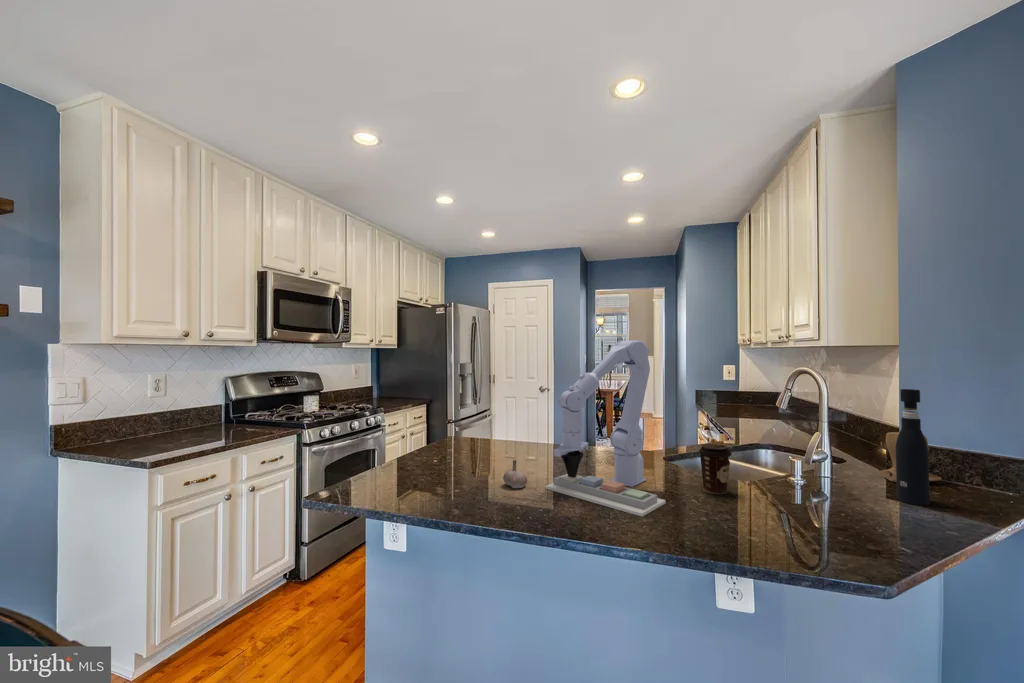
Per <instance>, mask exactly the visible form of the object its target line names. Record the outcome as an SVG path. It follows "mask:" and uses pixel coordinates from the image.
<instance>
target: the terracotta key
mask: <svg viewBox="0 0 1024 683" xmlns="http://www.w3.org/2000/svg"><path fill="white" fill-rule="evenodd" d="M609 480H610V479H609ZM609 480H608V481H607V480H606V481H604V482H605V483H602V484H601V490H605V491H609V492H613V493H616V494H618V493H621V492H623V491H625V487H626V485H625V484H624V483H619V482H615V481H611V480H610V481H609Z"/></svg>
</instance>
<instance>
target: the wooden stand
mask: <svg viewBox="0 0 1024 683" xmlns="http://www.w3.org/2000/svg"><path fill="white" fill-rule="evenodd" d="M899 432H900V431H897V432H891V431H890V432H887V433H886V435H885V446H886V449H887V450H888V452H889V456H890V459H891V462H892V467H890V468H888V469H884V470H883V469H882V470H880V471H879V474H880V475H881V476H882V477H884V478H885V479H887V480H888V481H890V482H894V483H896V441H897V437H898V435H899ZM924 437H925V440H926V443H927V447H928V454H929V453H930V452H929V449H930V448H929V441H928V438H927V436H926V435H924ZM942 479H943V478H942V477H940V476H938V475H936V474H933V473H931V472H929V482H937V481H938V482H939V481H942Z"/></svg>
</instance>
